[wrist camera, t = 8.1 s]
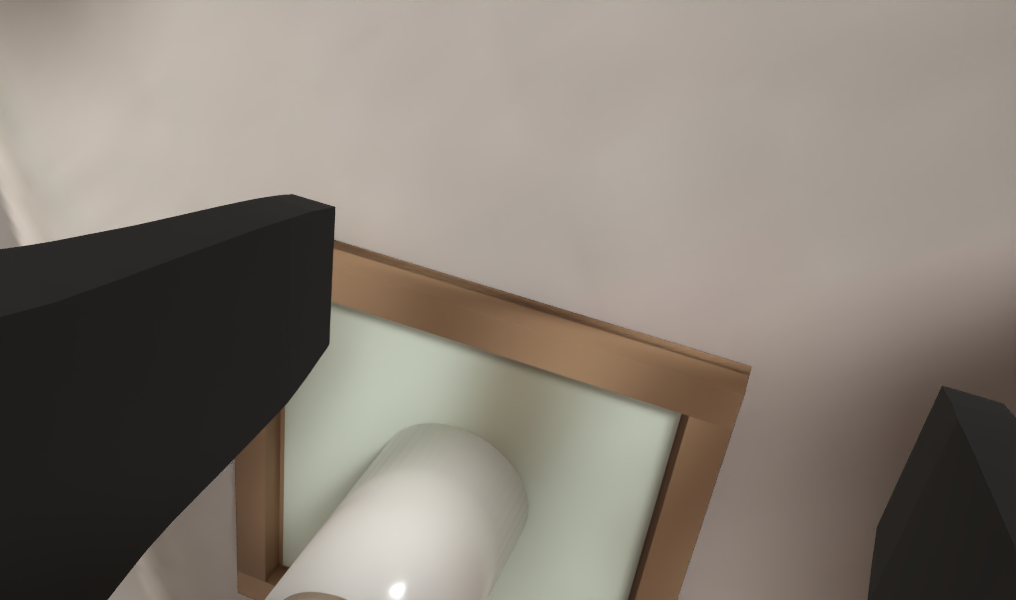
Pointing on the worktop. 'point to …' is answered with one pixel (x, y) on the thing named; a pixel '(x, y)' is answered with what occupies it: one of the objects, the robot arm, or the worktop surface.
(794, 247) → the worktop surface
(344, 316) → the rest tray
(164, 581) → the worktop surface
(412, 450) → the salt cellar
